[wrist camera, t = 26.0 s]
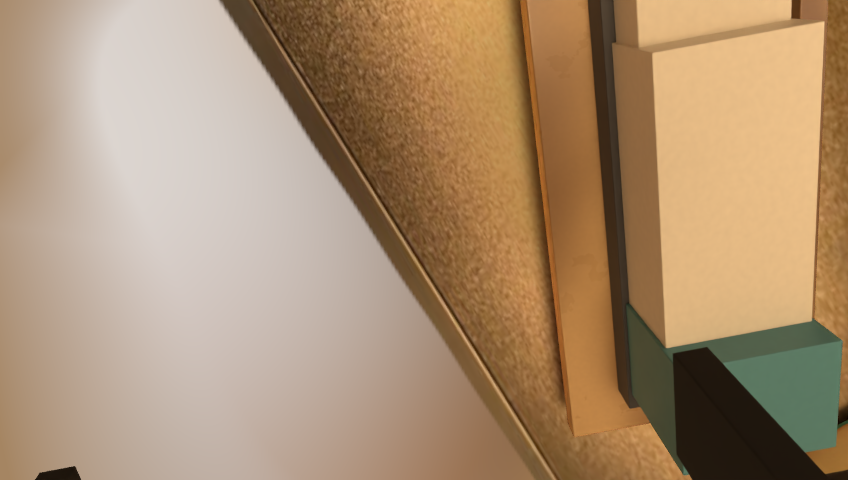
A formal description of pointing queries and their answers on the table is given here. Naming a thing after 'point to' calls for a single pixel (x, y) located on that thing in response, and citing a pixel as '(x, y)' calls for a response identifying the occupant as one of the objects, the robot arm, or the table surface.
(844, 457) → the ballet flat
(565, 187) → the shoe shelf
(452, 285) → the table surface
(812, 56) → the stepped block stack
